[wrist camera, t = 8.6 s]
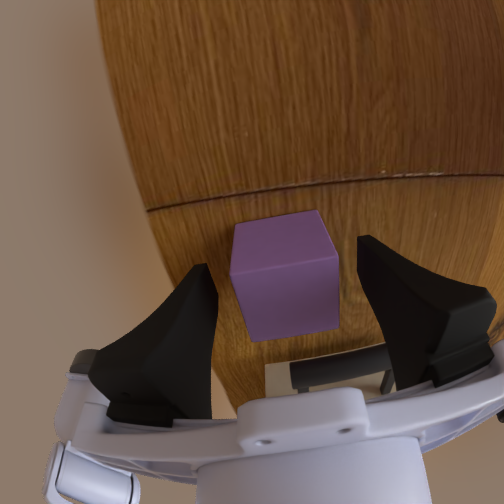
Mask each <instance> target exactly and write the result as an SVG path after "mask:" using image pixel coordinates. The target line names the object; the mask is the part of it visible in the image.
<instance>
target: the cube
mask: <svg viewBox="0 0 504 504" xmlns="http://www.w3.org/2000/svg"><path fill="white" fill-rule="evenodd" d="M229 276H230V279H231V282H232V285H233V288H234V291H235V294H236V297H237V300H238V303H239V306H240V309H241V312H242V315H243V318H244V321H245V324H246V327H247V330H248V333H249V336H250V339H251V341H252V342H258V341H266V340H273V339H280V338H286V337H293V336H299V335H305V334H310V333H316V332H321V331H327V330H332V329H337V328H339V258H338V254H337V252H336V250H335V247H334V245H333V243H332V241H331V238H330V236H329V234H328V232H327V230H326V228H325V225H324V223H323V221H322V219H321V217H320V215H319V213H318V211H317V210H311V211H305V212H300V213H294V214H288V215H282V216H277V217H271V218H266V219H260V220H255V221H249V222H244V223H239V224H236V225H235V230H234V238H233V247H232V255H231V264H230V273H229Z"/></svg>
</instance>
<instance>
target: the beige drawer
mask: <svg viewBox="0 0 504 504" xmlns="http://www.w3.org/2000/svg"><path fill="white" fill-rule="evenodd" d="M346 386H349V387H353V388H357V389H360V390H361V391H362V394H363V397H364V400H367V399H371V398H375V397H379V396H382V395H386V394H389V393H393V392H396V385H395V379H394V375H393V370H392V365H391V361H390V357H389V353H388V349H387V346H386V342H382V343H378V344H374V345H370V346H366V347H362V348H357V349H353V350H348V351H344V352H339V353H334V354H329V355H323V356H318V357H312V358H307V359H300V360H294V361H287V362H280V363H273V364H266V365H265V394H266V398H268V397H277V396H285V395H292V394H299V393H306V392H312V391H318V390H323V389H329V388H334V387H346Z"/></svg>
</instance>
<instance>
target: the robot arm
mask: <svg viewBox="0 0 504 504" xmlns="http://www.w3.org/2000/svg"><path fill="white" fill-rule="evenodd" d="M357 273H358V276H359V279H360V282H361V285H362V288H363V290H364V292H365V294H366V297H367V299H368V301H369V303H370V305H371V307H372V309H373V311H374V313H375V316H376V318H377V320H378V322H379V324H380V327H381V330H382V333H383V336H384V339H385V342H386V346H387V349H388V353H389V357H390V361H391V365H392V370H393V375H394V379H395V385H396V392H393V393H389V394H386V395H382V396H379V397H375V398H371V399H367V400H364V397H363V394H362V391H361V390H360V389H357V388H353V387H349V386H346V387H334V388H329V389H323V390H318V391H312V392H306V393H299V394H292V395H285V396H277V397H268V398H260V399H256V400H251V401H248V402H246V403H245V404H243V405H241V406H240V407H238V412H237V419H212V410H211V356H212V348H213V342H214V336H215V329H216V323H217V317H218V292H217V289H216V287H215V284H214V281H213V279H212V276H211V273H210V271H209V268H208V265H207V263H203V264H197V265H194V266H193V267H192V269H191V270H190V271H189V272H188V274H187V275H186V276H185V277H184V279H183V280H182V281H181V282H180V283H179V285H178V286H177V287H176V288H175V290H174V291H173V292H172V293H171V294H170V296H168V298H167V299H166V300H165V301H164V302H163V303H162V304H161V305H160V306H159V308H157V309H156V310H155V311H154V312H153V313H152V314H151V315H150V316H149V317H148V318H147V319H146V320H144V321H143V322H142V323H140V324H139V325H138V326H137V327H136V328H134V329H133V330H132V331H130V332H129V333H127V334H126V335H124V336H123V337H121V338H120V339H118V340H117V341H115V342H113V343H112V344H110V345H108V346H106V347H104V348H102V349H101V350H98V351H97V352H96V354H95V357H94V359H93V361H92V364H91V366H90V369H89V371H88V374H79V373H70V372H66V374H65V376H66V377H67V378H68V379H69V380H68V382H67V385H66V387H65V390H64V392H63V395H62V397H61V400H60V403H59V405H58V408H57V411H56V413H55V417H54V426H55V431H56V434H57V435H58V437H59V438H60V439H61V441H62V442H63V443H62V442H61V441H58V442H56V443H53V446H52V448H51V451H50V454H49V458H48V461H47V465H46V469H45V473H44V479H43V482H44V484H43V488H42V494H43V497H44V500H45V502H46V503H47V504H74V503H71V502H69V501H67V500H65V499H63V498H62V497H61V496H60V495H59V493H60V494H63V495H65V496H67V497H70V498H72V499H74V500H77V501H80V502H82V503H85V504H139V500H140V483H139V480H138V479H137V477H136V475H135V473H136V474H140V475H144V476H149V477H153V478H158V479H163V480H168V481H174V482H179V483H186V484H192V485H197V489H196V501H195V504H432V501H431V495H430V490H429V485H428V481H427V475H426V471H425V467H424V463H423V458H422V454H423V453H425V452H427V451H430V450H432V449H434V448H436V447H438V446H440V445H442V444H444V443H446V442H448V441H450V440H452V439H454V438H456V437H458V436H460V435H461V434H463V433H465V432H466V431H468V430H470V429H472V428H474V427H476V426H477V425H479V424H480V423H482V422H484V421H486V420H487V419H489V418H490V417H492V416H494V415H495V414H497V413H498V412H500V411H501V410H503V409H504V339H502V340H500V341H498V342H497V343H495V344H494V345H493V346H492V347H491V348H490V346H489V344H488V343H487V342H489V340H490V339H489V336H488V334H487V333H486V332H487V330H488V328H489V326H490V324H491V322H492V320H493V318H494V316H495V313H496V308H497V304H496V301H495V300H494V298H493V297H492V296H491V294H490V293H489V292H488V290H487V289H486V288H485V287H480V286H475V285H470V284H465V283H462V282H458V281H455V280H452V279H449V278H446V277H443V276H441V275H438V274H436V273H433V272H431V271H429V270H427V269H425V268H423V267H421V266H419V265H417V264H415V263H413V262H411V261H410V260H408V259H406V258H404V257H403V256H401V255H400V254H398V253H396V252H395V251H393V250H392V249H390V248H389V247H387V246H386V245H384V244H383V243H381V242H380V241H378V240H377V239H375V238H374V237H372V236H371V235H364V236H358V237H357Z"/></svg>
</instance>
